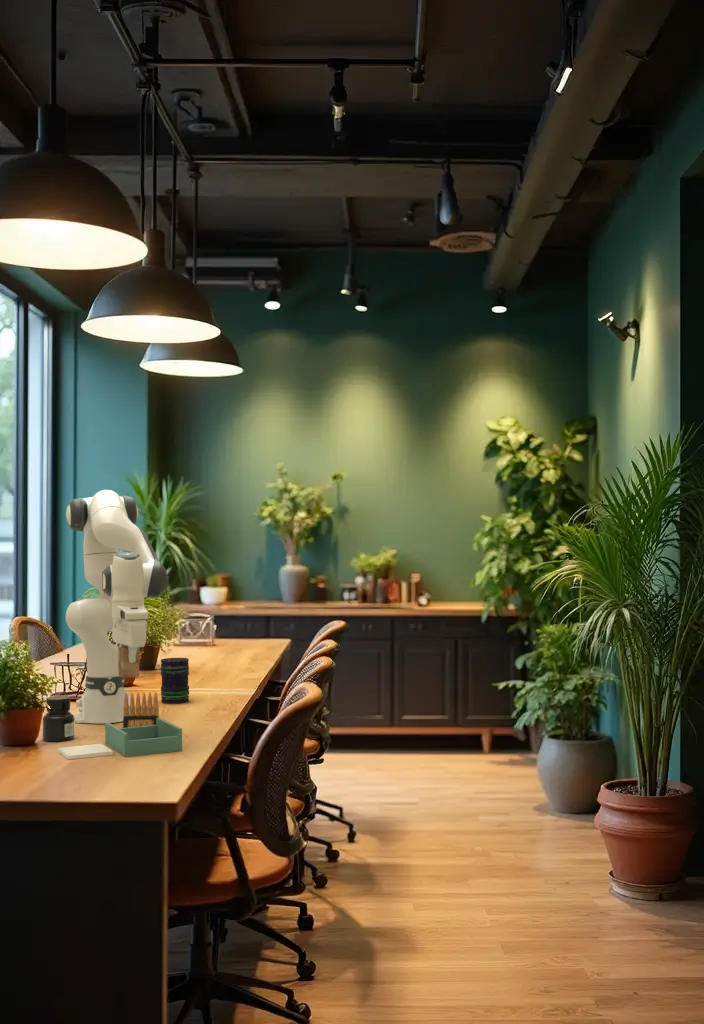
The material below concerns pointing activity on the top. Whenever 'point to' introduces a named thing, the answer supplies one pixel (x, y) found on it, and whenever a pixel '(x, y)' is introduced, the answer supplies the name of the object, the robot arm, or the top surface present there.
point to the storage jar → (174, 680)
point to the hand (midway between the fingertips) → (128, 661)
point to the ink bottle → (58, 720)
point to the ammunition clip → (140, 711)
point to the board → (85, 751)
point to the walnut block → (127, 663)
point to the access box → (144, 738)
